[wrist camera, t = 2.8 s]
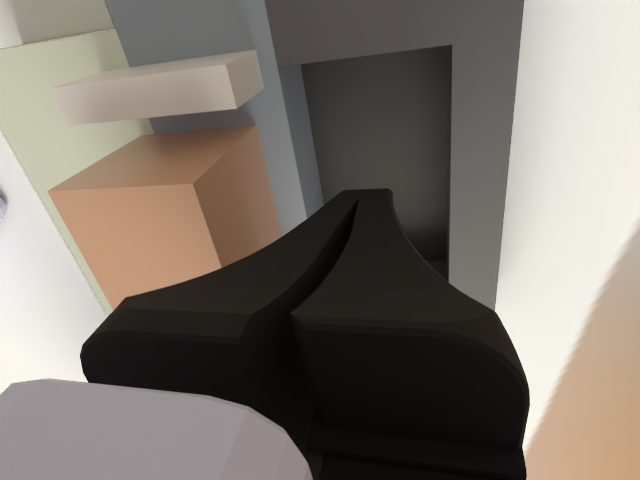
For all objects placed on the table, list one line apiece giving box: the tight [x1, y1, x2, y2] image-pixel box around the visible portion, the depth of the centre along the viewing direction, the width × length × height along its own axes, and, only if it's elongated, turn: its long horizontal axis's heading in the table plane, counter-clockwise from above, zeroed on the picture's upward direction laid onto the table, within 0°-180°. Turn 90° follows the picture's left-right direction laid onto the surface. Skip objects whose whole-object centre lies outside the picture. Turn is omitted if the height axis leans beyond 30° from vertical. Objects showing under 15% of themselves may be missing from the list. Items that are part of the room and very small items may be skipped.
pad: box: [0, 28, 154, 314], centre depth 16 cm, size 6×11×2 cm, turn 9°
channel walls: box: [52, 49, 264, 126], centre depth 13 cm, size 5×9×2 cm, turn 9°
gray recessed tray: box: [105, 0, 524, 311], centre depth 14 cm, size 10×13×2 cm
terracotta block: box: [47, 125, 282, 311], centre depth 12 cm, size 4×5×4 cm
